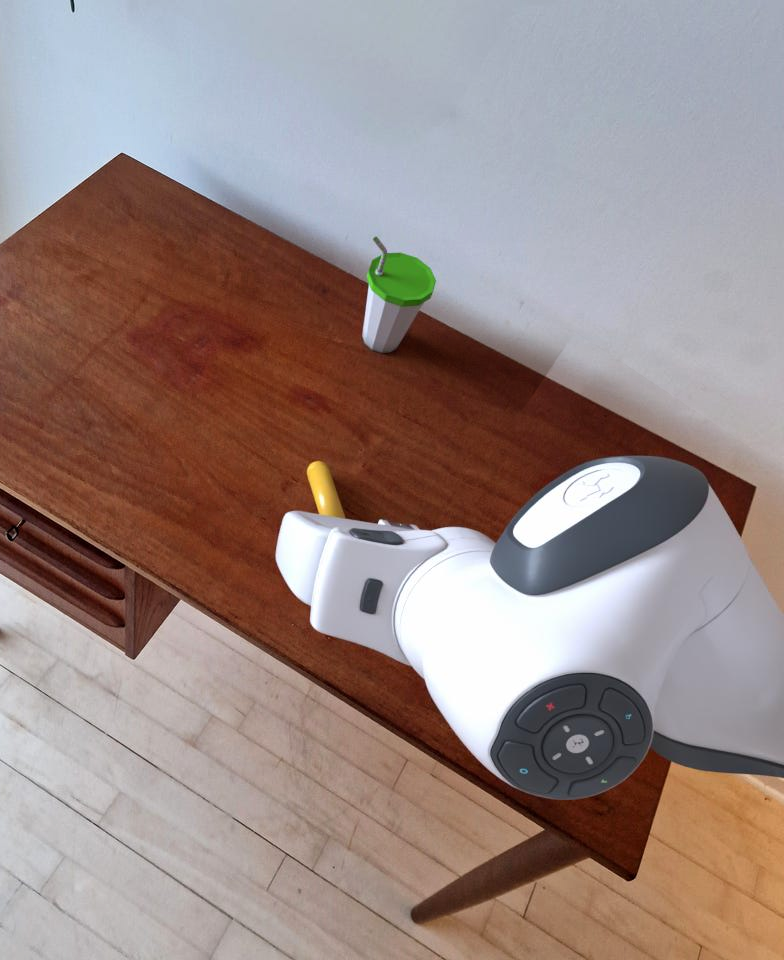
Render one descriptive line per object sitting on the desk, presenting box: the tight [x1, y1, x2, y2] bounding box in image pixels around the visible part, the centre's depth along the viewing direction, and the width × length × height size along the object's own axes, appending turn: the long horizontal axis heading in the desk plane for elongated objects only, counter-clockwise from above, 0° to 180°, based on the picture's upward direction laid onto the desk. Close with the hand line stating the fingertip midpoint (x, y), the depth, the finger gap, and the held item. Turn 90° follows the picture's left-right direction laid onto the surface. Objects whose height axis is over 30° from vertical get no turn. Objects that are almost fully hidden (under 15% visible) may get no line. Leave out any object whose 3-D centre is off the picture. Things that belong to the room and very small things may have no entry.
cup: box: [361, 236, 437, 354], centre depth 97 cm, size 8×8×15 cm
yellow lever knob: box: [306, 460, 347, 519], centre depth 85 cm, size 5×5×14 cm
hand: (394, 531), depth 65 cm, fingers closed
